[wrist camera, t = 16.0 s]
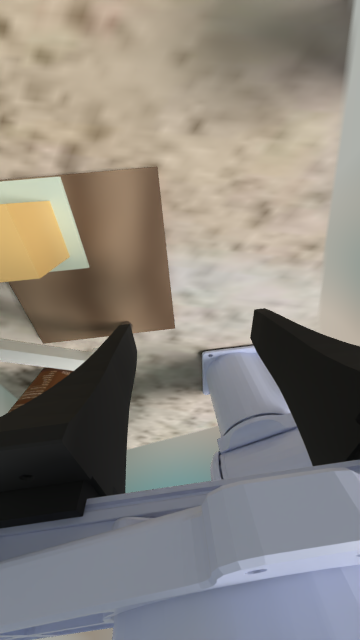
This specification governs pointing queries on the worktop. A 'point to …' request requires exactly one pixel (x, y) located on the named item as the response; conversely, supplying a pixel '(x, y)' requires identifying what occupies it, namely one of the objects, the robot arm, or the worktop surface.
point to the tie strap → (42, 355)
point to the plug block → (29, 241)
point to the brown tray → (106, 261)
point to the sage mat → (56, 195)
